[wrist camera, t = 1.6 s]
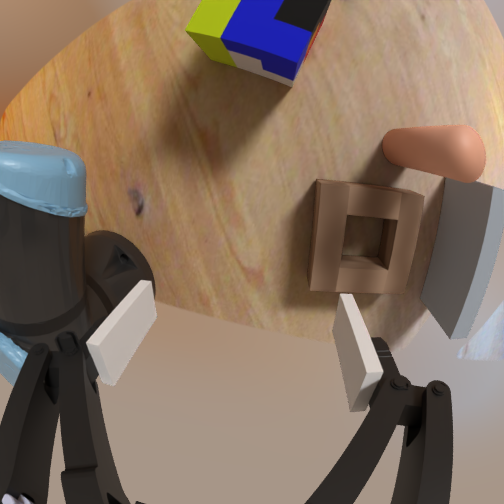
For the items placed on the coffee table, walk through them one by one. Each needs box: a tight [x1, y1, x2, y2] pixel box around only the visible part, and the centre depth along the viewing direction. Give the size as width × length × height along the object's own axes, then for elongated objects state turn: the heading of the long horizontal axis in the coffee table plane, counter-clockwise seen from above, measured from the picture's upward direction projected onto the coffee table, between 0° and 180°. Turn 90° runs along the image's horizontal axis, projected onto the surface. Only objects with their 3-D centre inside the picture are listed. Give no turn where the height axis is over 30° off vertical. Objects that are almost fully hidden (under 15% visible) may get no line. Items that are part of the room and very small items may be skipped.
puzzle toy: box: [185, 0, 331, 87], centre depth 21 cm, size 10×10×10 cm
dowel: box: [382, 125, 486, 183], centre depth 22 cm, size 4×4×14 cm
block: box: [307, 179, 425, 294], centre depth 30 cm, size 12×12×4 cm
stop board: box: [420, 177, 504, 339], centre depth 27 cm, size 3×18×10 cm, turn 178°
